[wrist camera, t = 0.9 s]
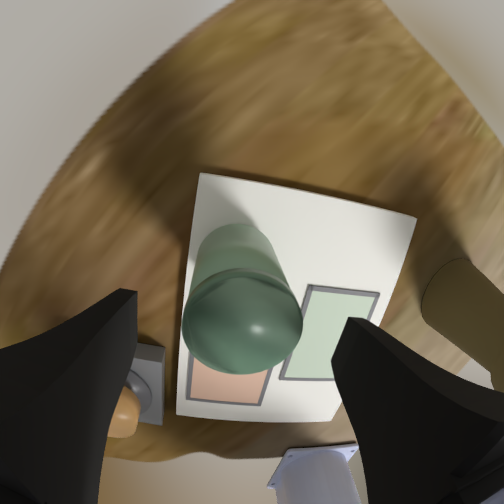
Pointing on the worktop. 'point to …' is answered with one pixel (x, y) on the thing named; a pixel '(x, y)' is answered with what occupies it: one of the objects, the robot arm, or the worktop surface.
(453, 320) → the olive brown cylinder
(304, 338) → the picture card
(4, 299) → the worktop surface
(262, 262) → the green cylinder
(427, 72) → the worktop surface
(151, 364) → the button pad
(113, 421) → the button
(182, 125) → the worktop surface
